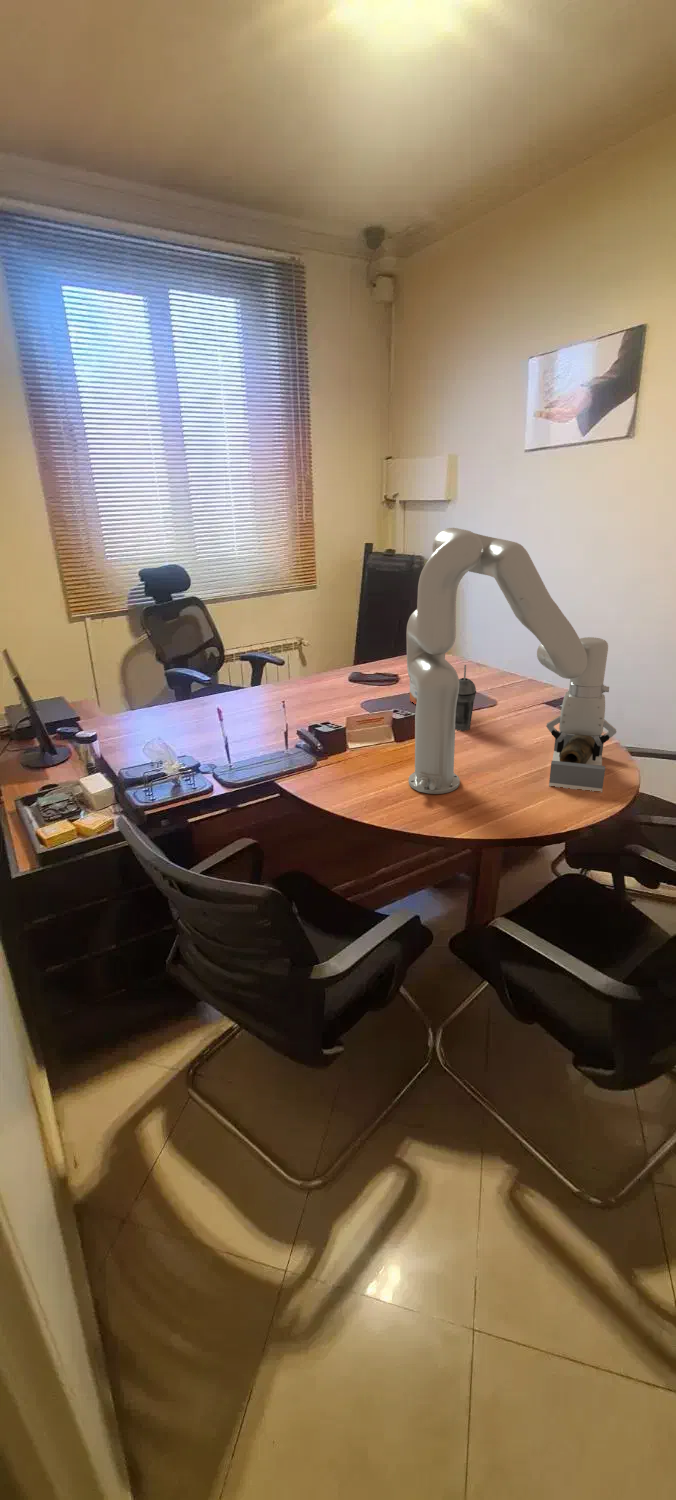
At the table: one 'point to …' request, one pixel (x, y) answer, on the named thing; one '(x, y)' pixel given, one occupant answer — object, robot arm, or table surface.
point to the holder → (577, 771)
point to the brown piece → (578, 749)
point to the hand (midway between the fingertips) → (577, 756)
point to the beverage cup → (464, 703)
